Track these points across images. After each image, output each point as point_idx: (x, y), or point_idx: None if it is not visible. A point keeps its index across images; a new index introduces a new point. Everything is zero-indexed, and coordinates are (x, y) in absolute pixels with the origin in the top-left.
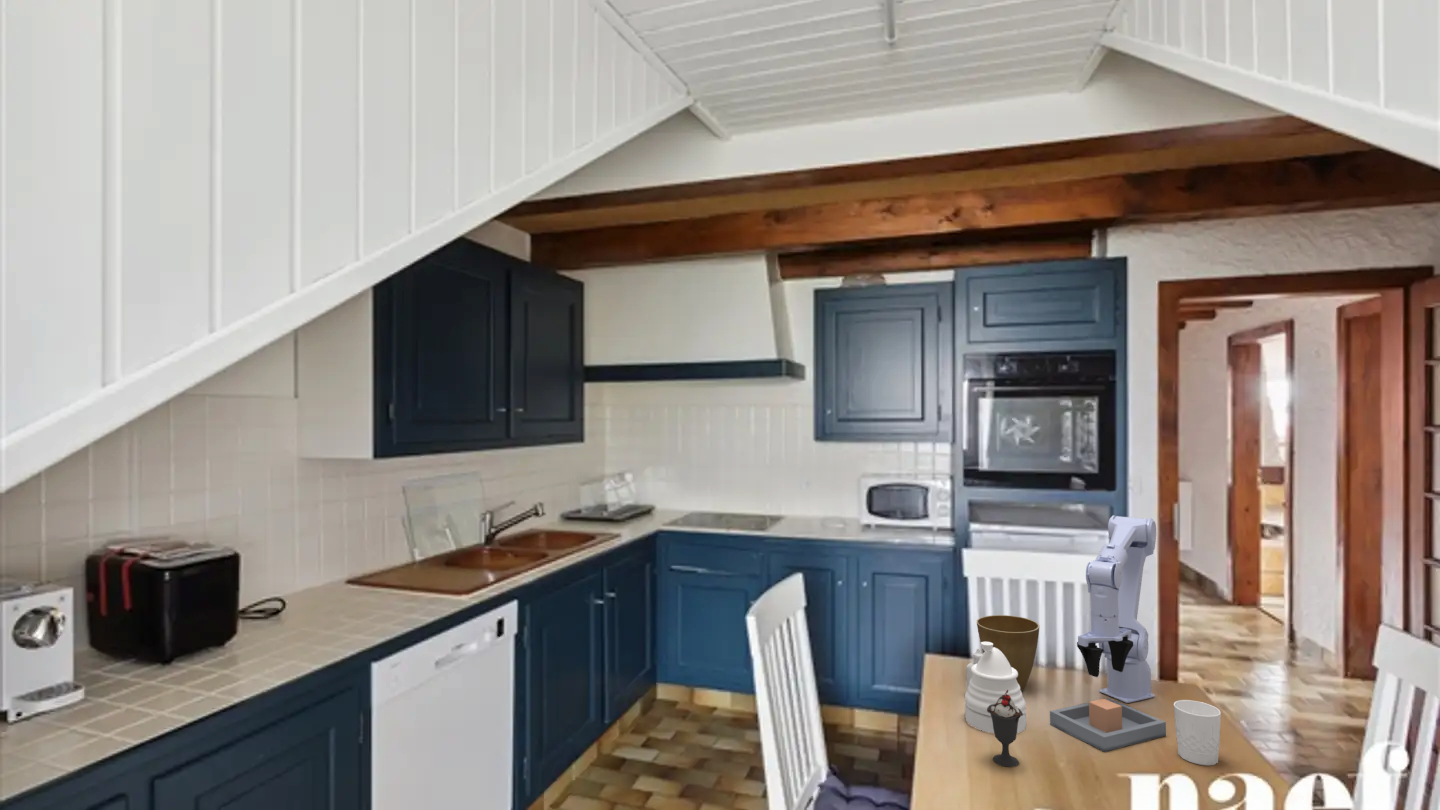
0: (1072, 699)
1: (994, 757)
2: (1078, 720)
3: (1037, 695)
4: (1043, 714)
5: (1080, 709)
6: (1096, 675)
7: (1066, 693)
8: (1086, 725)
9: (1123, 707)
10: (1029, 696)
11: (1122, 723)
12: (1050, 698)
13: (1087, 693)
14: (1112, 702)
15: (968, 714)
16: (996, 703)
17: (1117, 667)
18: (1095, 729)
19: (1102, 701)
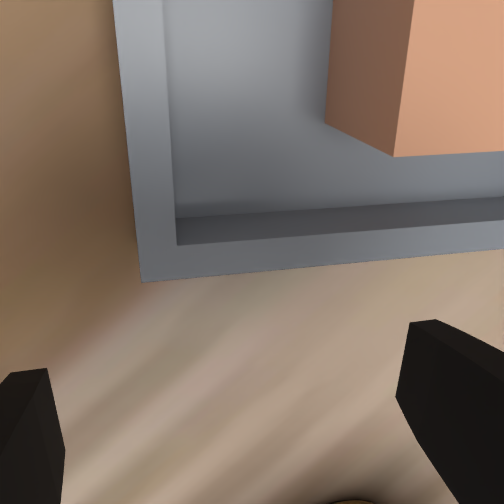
0: (207, 400)
1: None
2: (437, 181)
3: (316, 458)
4: (466, 305)
5: (423, 220)
6: (448, 327)
7: (176, 456)
8: None
9: (169, 129)
10: (353, 455)
11: (255, 45)
12: (293, 426)
13: (69, 441)
14: (412, 60)
15: None
16: None
17: (46, 437)
18: None
19: (458, 112)
